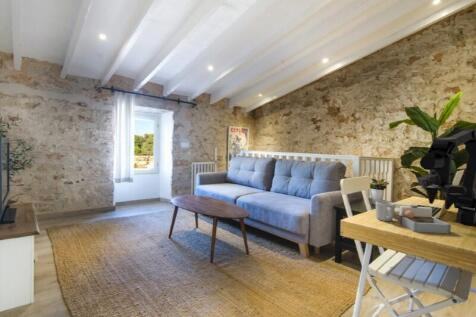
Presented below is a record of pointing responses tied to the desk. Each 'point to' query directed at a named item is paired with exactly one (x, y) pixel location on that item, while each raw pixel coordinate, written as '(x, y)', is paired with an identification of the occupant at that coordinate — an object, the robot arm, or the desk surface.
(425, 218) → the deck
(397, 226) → the desk surface
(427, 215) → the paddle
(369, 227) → the desk surface
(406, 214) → the ball
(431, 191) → the robot arm
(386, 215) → the cup
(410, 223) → the bin
